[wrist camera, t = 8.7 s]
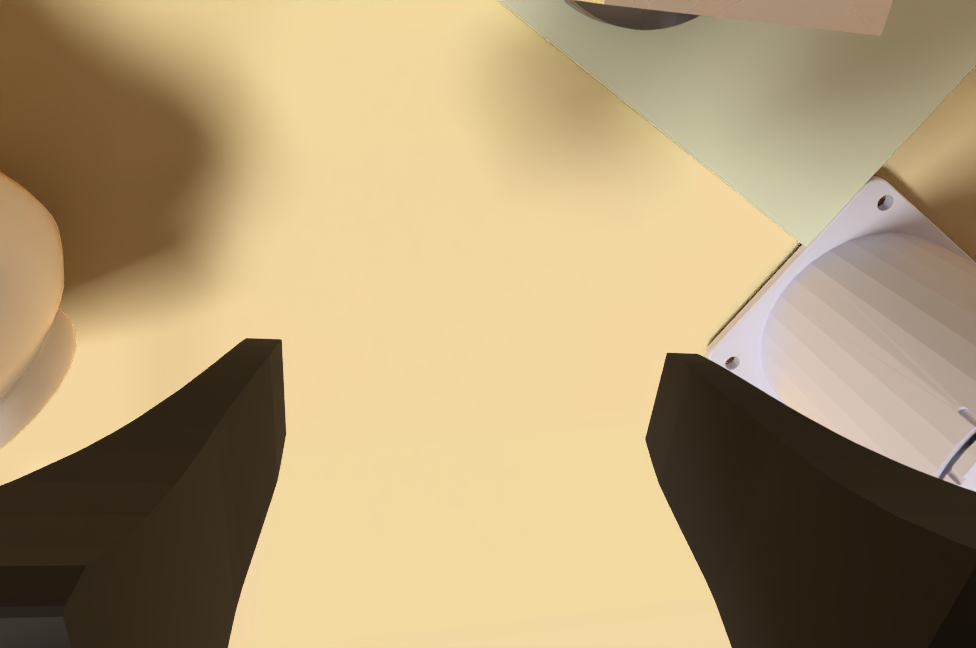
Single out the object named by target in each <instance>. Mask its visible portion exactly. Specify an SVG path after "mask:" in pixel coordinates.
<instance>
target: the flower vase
mask: <svg viewBox="0 0 976 648" xmlns="http://www.w3.org/2000/svg"><path fill="white" fill-rule="evenodd" d="M63 290H64V260H63V247H62V240H61V236H60V232H59V228H58V226H57V224H56V222H55V220H54V218H53V216H52V215H51V214H50V213H49V211H48V210H47V209H46V208H45V207H44V206H43V205H42V204H41V203H40V202H39V201H38V200H37V199H36V198H35V197H34V196H33V195H32V194H31V193H30V192H29V191H28V190H26V189H25V188H24V187H22V186H21V185H20V184H18V183H17V182H15V181H14V180H12V179H11V178H9V177H8V176H6V175H5V174H3V173H1V172H0V450H1V449H2V448H4V447H5V446H6V445H7V444H9V443H10V442H11V441H12V440H13V439H14V438H15V437H16V436H17V435H18V434H19V433H20V432H21V431H22V430H23V429H24V428H25V427H26V426H27V425H29V424H30V423H31V422H32V421H33V420H34V419H35V418H36V417H37V415H38V414H39V413H40V412H41V410H42V409H43V408H44V407H45V406H46V404H47V403H48V402H49V401H50V399H51V398H52V397H53V396H54V394H55V393H56V392H57V390H58V388H59V387H60V385H61V383H62V382H63V380H64V378H65V377H66V375H67V373H68V371H69V370H70V367H71V364H72V361H73V358H74V354H75V351H76V347H77V343H76V330H75V327H74V325H73V324H72V322H71V321H70V320H69V318H68V317H67V316H66V314H65V313H64V312H63V311H62V310H60V309H59V305H60V303H61V299H62V295H63Z"/></svg>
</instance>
